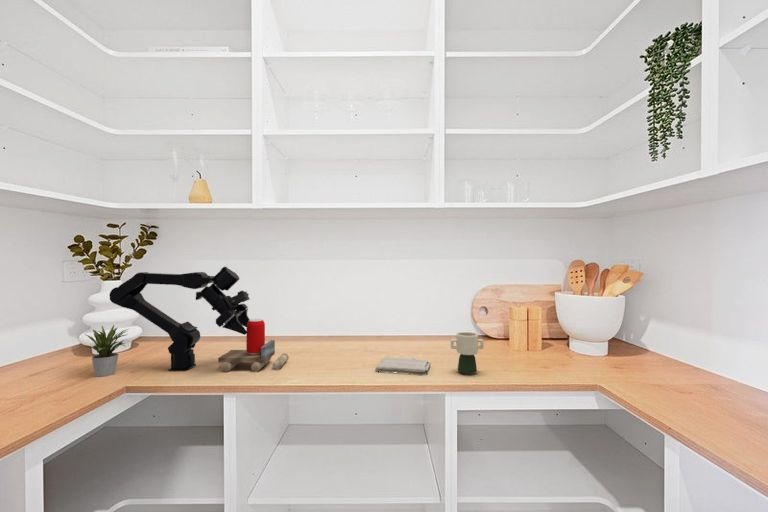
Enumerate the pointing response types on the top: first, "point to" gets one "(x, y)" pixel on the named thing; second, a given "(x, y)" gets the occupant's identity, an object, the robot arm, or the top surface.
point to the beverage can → (255, 336)
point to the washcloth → (403, 365)
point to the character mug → (467, 350)
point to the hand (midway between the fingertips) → (249, 331)
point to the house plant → (105, 352)
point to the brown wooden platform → (248, 357)
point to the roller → (280, 361)
